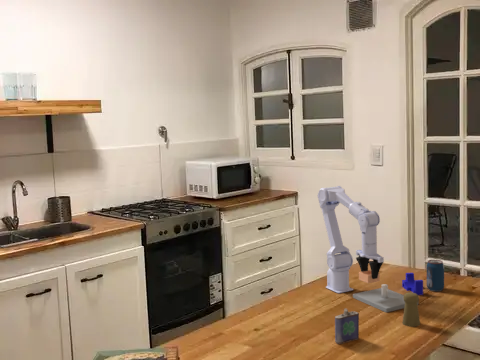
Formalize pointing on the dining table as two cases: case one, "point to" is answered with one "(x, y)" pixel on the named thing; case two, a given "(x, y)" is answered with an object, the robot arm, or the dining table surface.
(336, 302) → the dining table surface
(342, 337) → the flask
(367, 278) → the collar
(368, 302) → the post board
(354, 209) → the robot arm
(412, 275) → the cable clip
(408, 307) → the cork
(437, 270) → the soda can
